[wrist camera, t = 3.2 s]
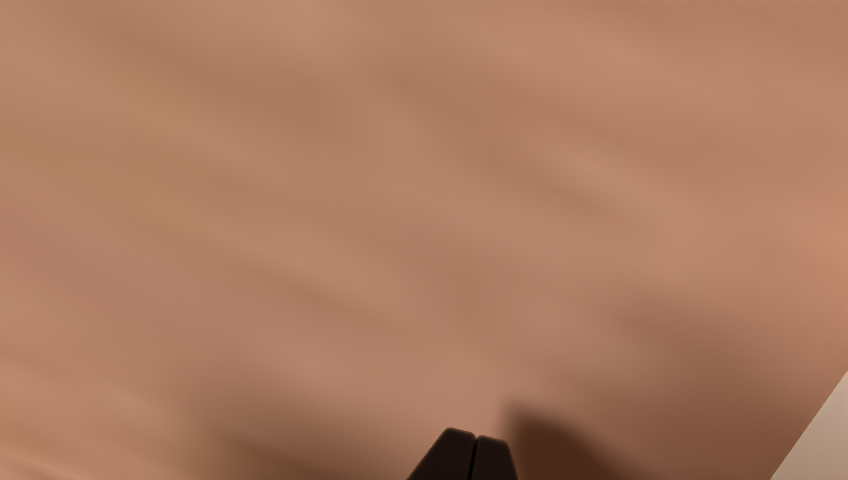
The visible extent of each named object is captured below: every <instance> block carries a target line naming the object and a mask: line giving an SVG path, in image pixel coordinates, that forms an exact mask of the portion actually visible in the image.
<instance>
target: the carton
mask: <svg viewBox="0 0 848 480" xmlns="http://www.w3.org/2000/svg"><path fill="white" fill-rule="evenodd" d="M770 480H848V371H847V372H846V374H845V375H844V376H843V378H842V379H841V381H840V382H839V383H838V385H837V386H836V388H835V389H834V390H833V392H832V393H831V395H830V396H829V397H828V399H827V400H826V402H825V403H824V404H823V406H822V407H821V409H820V410H819V411H818V413H817V414H816V416H815V417H814V418H813V420H812V421H811V423H810V424H809V425H808V427H807V428H806V430H805V431H804V432H803V434H802V435H801V437H800V438H799V439H798V441H797V442H796V444H795V445H794V447H793V448H792V449H791V451H790V452H789V454H788V455H787V456H786V458H785V459H784V461H783V462H782V463H781V465H780V466H779V468H778V469H777V470H776V472H775V473H774V475H773V476H772V477H771V479H770Z"/></svg>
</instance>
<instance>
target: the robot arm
mask: <svg viewBox="0 0 848 480" xmlns="http://www.w3.org/2000/svg"><path fill="white" fill-rule="evenodd" d="M406 480H519V479H518V475H517V472H516V468H515V465H514V462H513V458H512V455H511V451H510V448H509V446H508V444H507V443H506V442H505V441H503V440H499V439H495V438H491V437H487V436H483V435H482V436H478V437H477V439H476V437H475V435H474V434H473V433H471V432H467V431H463V430H459V429H455V428H447V429H446V430H444V431H443V433H442V434H441V435H440V436H439V438H438V439H437V440H436V442H435V443H434V444H433V446H432V447H431V448H430V449H429V451H428V452H427V453H426V455H425V456H424V457H423V459H422V460H421V461H420V463H419V464H418V465H417V466H416V468H415V469H414V470H413V472H412V473H411V474H410V476H409V477H408V478H407V479H406Z"/></svg>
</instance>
